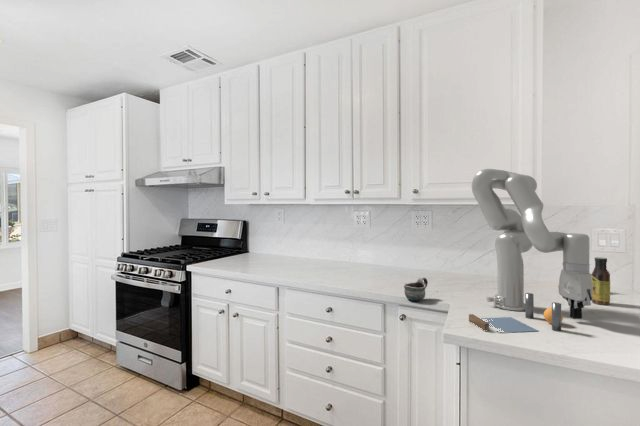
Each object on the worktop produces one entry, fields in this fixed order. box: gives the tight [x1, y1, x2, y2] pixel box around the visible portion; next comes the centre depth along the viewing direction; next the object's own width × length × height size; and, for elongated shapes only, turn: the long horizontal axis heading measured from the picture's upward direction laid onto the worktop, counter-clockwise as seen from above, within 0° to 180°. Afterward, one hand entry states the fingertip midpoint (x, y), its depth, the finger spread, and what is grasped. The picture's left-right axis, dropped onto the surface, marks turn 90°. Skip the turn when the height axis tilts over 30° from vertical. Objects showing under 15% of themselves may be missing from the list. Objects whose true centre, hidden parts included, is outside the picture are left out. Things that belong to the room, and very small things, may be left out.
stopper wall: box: [468, 313, 490, 331], centre depth 115 cm, size 2×10×2 cm, turn 5°
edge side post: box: [551, 302, 562, 332], centre depth 110 cm, size 3×3×9 cm
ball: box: [543, 307, 564, 325], centre depth 116 cm, size 6×6×6 cm
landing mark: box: [480, 316, 539, 333], centre depth 115 cm, size 14×14×1 cm
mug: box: [403, 276, 429, 302], centre depth 149 cm, size 10×12×10 cm
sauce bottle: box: [590, 256, 611, 306], centre depth 140 cm, size 7×6×20 cm
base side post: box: [524, 292, 535, 320], centre depth 123 cm, size 3×3×9 cm
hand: (575, 317), depth 118 cm, fingers closed
